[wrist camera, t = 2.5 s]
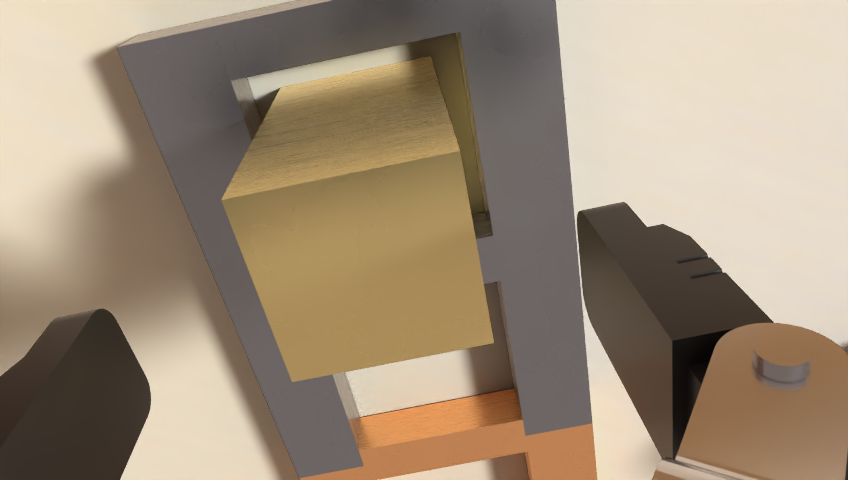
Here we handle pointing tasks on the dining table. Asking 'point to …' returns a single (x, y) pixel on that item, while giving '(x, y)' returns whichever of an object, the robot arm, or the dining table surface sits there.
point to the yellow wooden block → (360, 223)
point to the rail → (494, 229)
